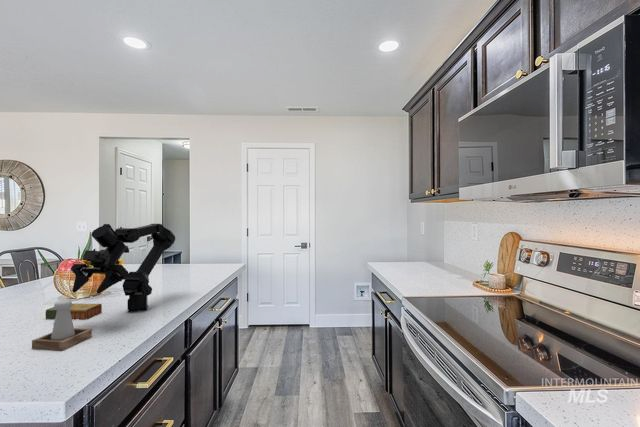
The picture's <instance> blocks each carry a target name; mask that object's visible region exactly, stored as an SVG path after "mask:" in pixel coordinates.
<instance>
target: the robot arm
mask: <svg viewBox="0 0 640 427" xmlns="http://www.w3.org/2000/svg"><path fill="white" fill-rule="evenodd" d="M149 235H150V237H151V239H152V242H153V243H152V244H153V245H152V247H151V249H150V250H149V251H148V253H147V255H146V256H145V258H144V260H143V261H142V263H141V264H140V266H139V267H138V268H137V269H136V271H128V270H127V268H125V267H124V266H123V264H120V263H121V262H120V261H119V260H120V259H121V257H122V255H124V254H127V253H128V254H129V253H130V249H129V246H128V245H126V244H132V243H133V244H134V243H135V242H137V241H138V240H140V238H142V237H145V236H149ZM91 237H92V238H93V240H95V241H96V242H97V244H98V245H100V247H101V248H105V249H100V250H89V249H88V250H85V251H84V254H83V256H82V258H81V260H82V261H87V262H89V264H87V263H74V264H72V266H71V267H70V271H72V273H73V274H74V277H75V278H74V281H73V286H72V290H71V291H72V293H76V292H78V291H79V290H80V289H81V288H82V287H84V285H85V284H87V283H88V282H89V281H90V280H91V279H90V278H91V277H92V276H93V275H95V274H96V275H99V274H100V275H104V279H103V280H102V281H101V282H100V284H99V286H98V288H97V290H96V294H97V295H99V294H102V292H104V291H106V290H108V289H109V288H110V287H112V286H115V285H116V284H118V283H119V282H122V281H123V282H122V289H123V290H122V291H123V292H124V296H126V297H127V296H128V299H127V313H135V312H146V311H147V309H148V308H149V305H148V296H150V295H152V291H153V288H152V287H151V285H150V279H149V277H150V274H151V273H152V271H153V270H154V268H155V266H156V264H157V263H158V261H159V260H160V258H161V256H162V254H163V253H164V251H166V250H168V249H170V248H171V247H172V246H173V245H174V243H175V241H176V235H175V234H174V233H173V232H172V230H170V229H168V228H166V227H165V226H164V225H163V224H162V223H150V224H147V225H143V226H137V227H134V228H133V227H132V228H131V227H128V228H127V227H125V228H123V227H120V228H119V227H118V228H116V229H114V228H113V227H112V226H111V224H109V223H104V224H102V226H99V227H96V229H94V230H92V232H91ZM89 265H90V266H92V267H90V266H89Z"/></svg>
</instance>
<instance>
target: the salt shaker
mask: <svg viewBox="0 0 640 427" xmlns="http://www.w3.org/2000/svg"><path fill="white" fill-rule="evenodd" d="M72 304H73V302H72V300H69V299H62V300H58V301H56V302H54V305H53V307H54V309H55V310H57V312H56V317H55V319H54V323H53V328H52V331H51V333H52V335H51V340H58V341H63V340H65V339H68V338H70V337H72V336H74V335H75V331H74V328H75V327H74V322H73V320H72V317H71V313H70V308H71V307H72Z"/></svg>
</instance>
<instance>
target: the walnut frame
mask: <svg viewBox="0 0 640 427" xmlns="http://www.w3.org/2000/svg"><path fill="white" fill-rule="evenodd" d="M74 331H75V335H74V336H72V337H70V338H68V339H65V340H63V341H58V340H51V335H52V332H50V333H48V334H45V335H42V336H39V337H36V338H35V339H31V349H32V350H44V351H45V350H47V351H57V352H58V351H59V352H63V351H65V350H68V349H70V348H72V347H74V346H75V345H78V344H80V343H83V342H84V341H86V340H88V339H91V338H92V337H93V329H89V328H76V327H74Z"/></svg>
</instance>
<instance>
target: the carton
mask: <svg viewBox="0 0 640 427" xmlns="http://www.w3.org/2000/svg"><path fill="white" fill-rule="evenodd" d="M102 306H103V305H102V303H72V307H71V308H70V313H71V317H72V321H74V320H75V321H76V319H79V320H78V321H80V320H81V321H83V320H84V321H87V320H89V319H91V318H93V316H94V317H96V316H98V315H100V313H101V314H102V313H103V309H102V308H103V307H102ZM56 312H57V310H55V309H54V306H53V307H50V308H47V309H45V313H44V314H45V320H55V317H56ZM95 315H96V316H95ZM73 319H74V320H73ZM86 319H87V320H86Z"/></svg>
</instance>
